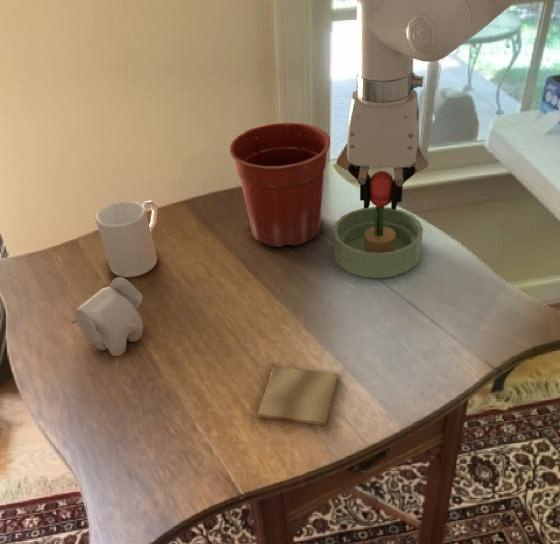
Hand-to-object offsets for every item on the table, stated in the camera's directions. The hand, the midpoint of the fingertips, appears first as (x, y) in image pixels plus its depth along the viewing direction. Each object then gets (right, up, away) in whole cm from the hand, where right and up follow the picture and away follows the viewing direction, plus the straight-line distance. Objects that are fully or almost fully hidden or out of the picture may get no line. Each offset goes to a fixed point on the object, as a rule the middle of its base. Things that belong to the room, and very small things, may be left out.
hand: (380, 203), depth 103 cm
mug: (-40, -7, +11) cm, 42 cm away
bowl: (0, -7, +7) cm, 10 cm away
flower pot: (-15, -1, +15) cm, 21 cm away
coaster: (-13, -30, -15) cm, 36 cm away
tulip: (+1, -6, +6) cm, 8 cm away
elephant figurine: (-41, -22, -4) cm, 46 cm away
